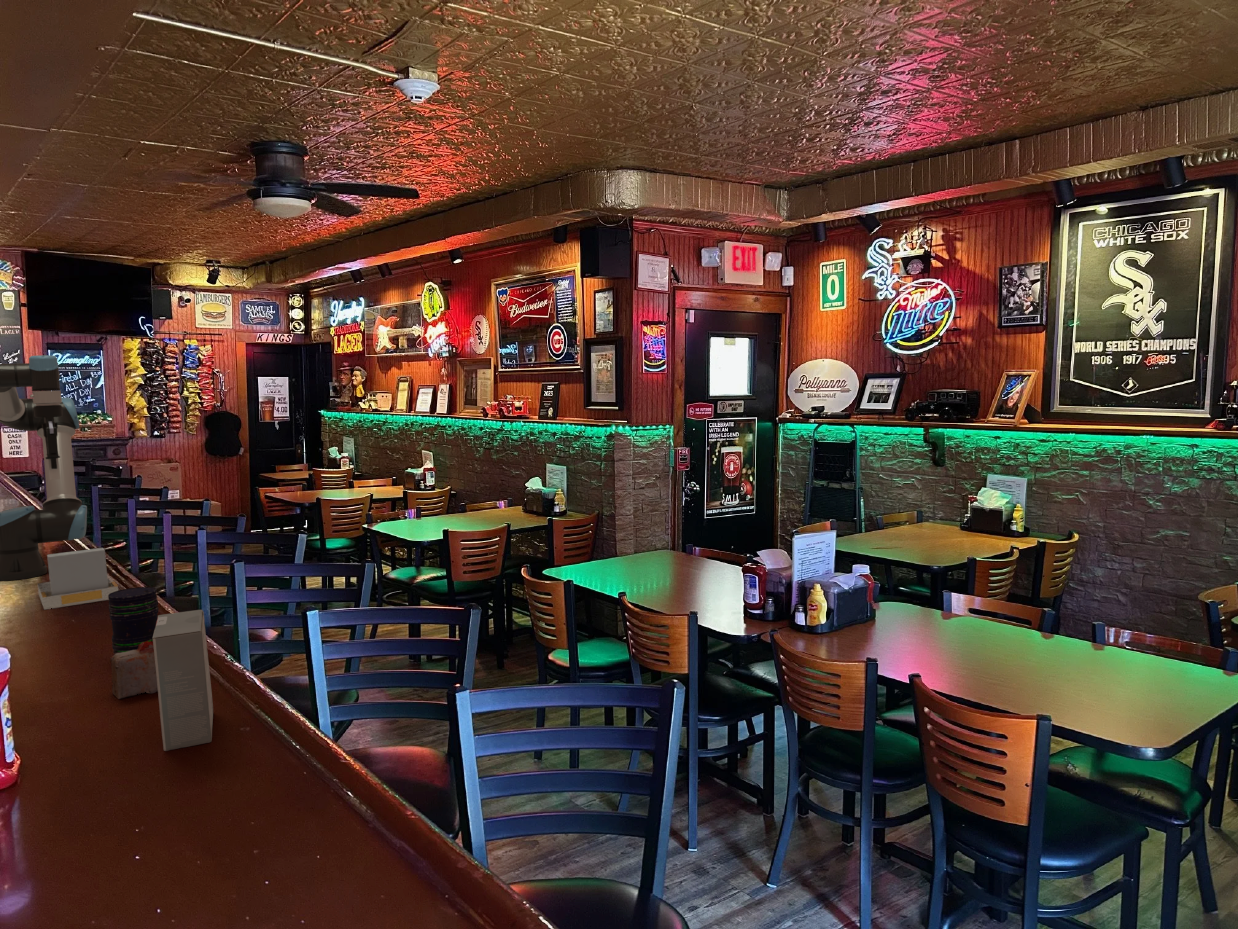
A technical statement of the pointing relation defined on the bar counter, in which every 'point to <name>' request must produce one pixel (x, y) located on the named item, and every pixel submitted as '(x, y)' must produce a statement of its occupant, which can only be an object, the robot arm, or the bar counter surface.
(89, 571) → the blanking panel
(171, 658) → the hard drive box
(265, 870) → the bar counter surface
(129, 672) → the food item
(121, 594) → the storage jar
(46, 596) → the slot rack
